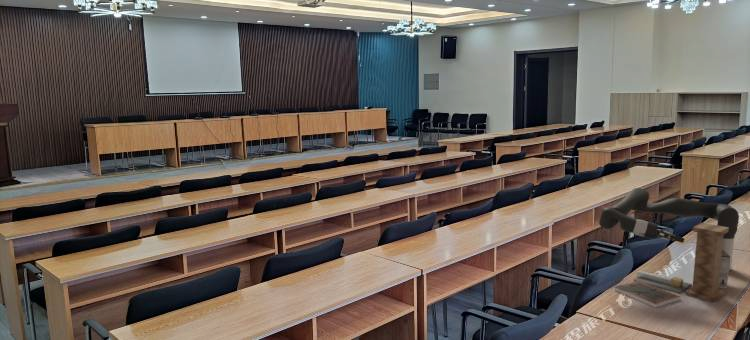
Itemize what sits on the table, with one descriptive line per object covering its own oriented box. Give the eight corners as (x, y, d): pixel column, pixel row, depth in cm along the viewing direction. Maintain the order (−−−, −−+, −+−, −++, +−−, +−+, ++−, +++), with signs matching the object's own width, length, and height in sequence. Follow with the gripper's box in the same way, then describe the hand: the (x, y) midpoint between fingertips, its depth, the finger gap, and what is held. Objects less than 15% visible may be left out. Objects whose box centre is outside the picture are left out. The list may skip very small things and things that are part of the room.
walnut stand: (685, 294, 247) (691, 227, 242) (695, 286, 255) (701, 221, 249) (714, 302, 238) (721, 233, 233) (724, 294, 246) (730, 227, 240)
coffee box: (705, 280, 263) (708, 248, 260) (719, 281, 261) (722, 249, 258) (712, 287, 254) (715, 255, 251) (727, 288, 252) (731, 256, 249)
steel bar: (636, 276, 268) (636, 270, 267) (639, 274, 270) (640, 268, 269) (679, 288, 253) (680, 281, 252) (682, 285, 255) (683, 278, 255)
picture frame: (614, 291, 254) (655, 309, 235) (614, 286, 254) (655, 303, 235) (638, 284, 261) (679, 301, 242) (638, 279, 261) (680, 295, 242)
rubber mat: (633, 280, 264) (633, 279, 264) (646, 273, 273) (646, 272, 273) (679, 293, 248) (679, 292, 248) (691, 285, 257) (691, 283, 257)
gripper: (648, 221, 247) (687, 233, 241) (645, 220, 260) (682, 231, 254) (643, 237, 247) (682, 249, 241) (641, 235, 260) (677, 246, 254)
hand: (682, 240), depth 248 cm, fingers open, 8 cm apart
